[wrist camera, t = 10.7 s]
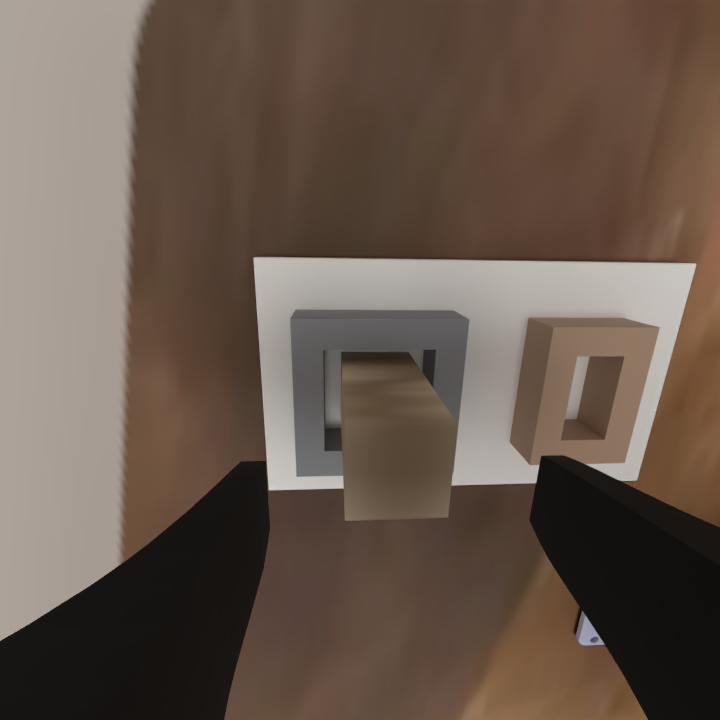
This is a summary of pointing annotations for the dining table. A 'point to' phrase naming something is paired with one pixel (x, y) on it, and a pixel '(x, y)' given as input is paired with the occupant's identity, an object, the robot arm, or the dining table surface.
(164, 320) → the dining table surface
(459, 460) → the socket board
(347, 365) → the beech peg
